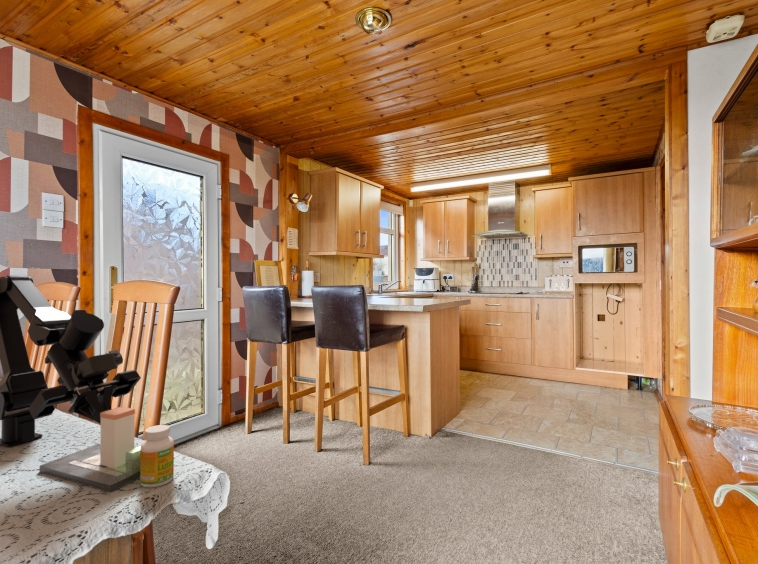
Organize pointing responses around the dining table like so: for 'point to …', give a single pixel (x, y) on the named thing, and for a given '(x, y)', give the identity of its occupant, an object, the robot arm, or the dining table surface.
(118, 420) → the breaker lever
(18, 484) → the dining table surface
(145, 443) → the supplement bottle
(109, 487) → the plate
